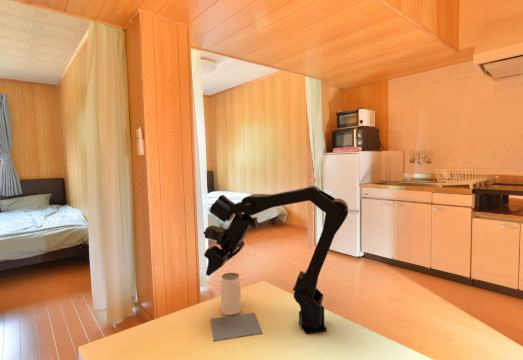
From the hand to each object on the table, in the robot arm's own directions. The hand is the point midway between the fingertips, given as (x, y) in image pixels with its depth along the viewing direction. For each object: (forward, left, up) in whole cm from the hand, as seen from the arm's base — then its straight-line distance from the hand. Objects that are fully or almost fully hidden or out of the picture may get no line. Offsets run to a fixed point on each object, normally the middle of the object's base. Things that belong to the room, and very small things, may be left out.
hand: (213, 269), depth 99 cm
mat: (-5, +9, -15) cm, 18 cm away
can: (-5, -1, -15) cm, 16 cm away
